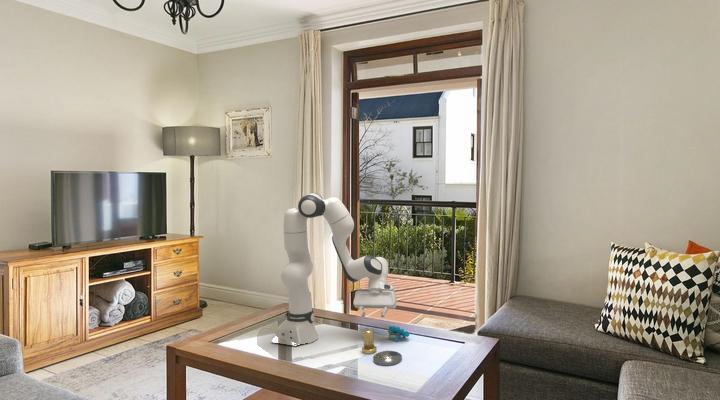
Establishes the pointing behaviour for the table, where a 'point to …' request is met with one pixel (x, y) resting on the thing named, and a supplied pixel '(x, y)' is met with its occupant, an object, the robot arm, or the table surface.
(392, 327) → the teal coral
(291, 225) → the robot arm
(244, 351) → the table surface
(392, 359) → the dark grey flat disc
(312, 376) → the table surface
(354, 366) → the table surface
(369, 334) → the gold flanged cylinder
